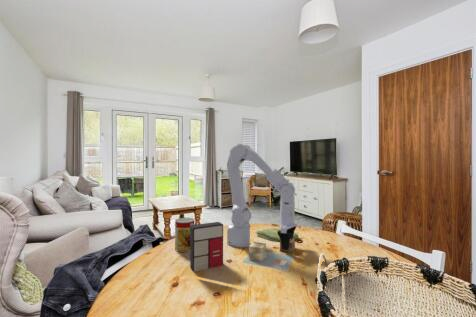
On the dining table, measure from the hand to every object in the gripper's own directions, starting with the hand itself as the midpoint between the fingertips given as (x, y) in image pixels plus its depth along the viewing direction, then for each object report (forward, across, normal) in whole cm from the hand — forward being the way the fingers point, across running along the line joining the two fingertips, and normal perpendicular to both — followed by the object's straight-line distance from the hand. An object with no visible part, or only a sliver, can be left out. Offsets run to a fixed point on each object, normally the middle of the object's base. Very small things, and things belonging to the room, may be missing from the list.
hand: (287, 246), depth 95 cm
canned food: (+3, -14, +40) cm, 43 cm away
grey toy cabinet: (+3, -26, +22) cm, 34 cm away
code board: (+2, -12, +4) cm, 13 cm away
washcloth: (+3, +16, +8) cm, 19 cm away
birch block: (+2, -12, +8) cm, 15 cm away
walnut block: (+2, 0, 0) cm, 3 cm away
